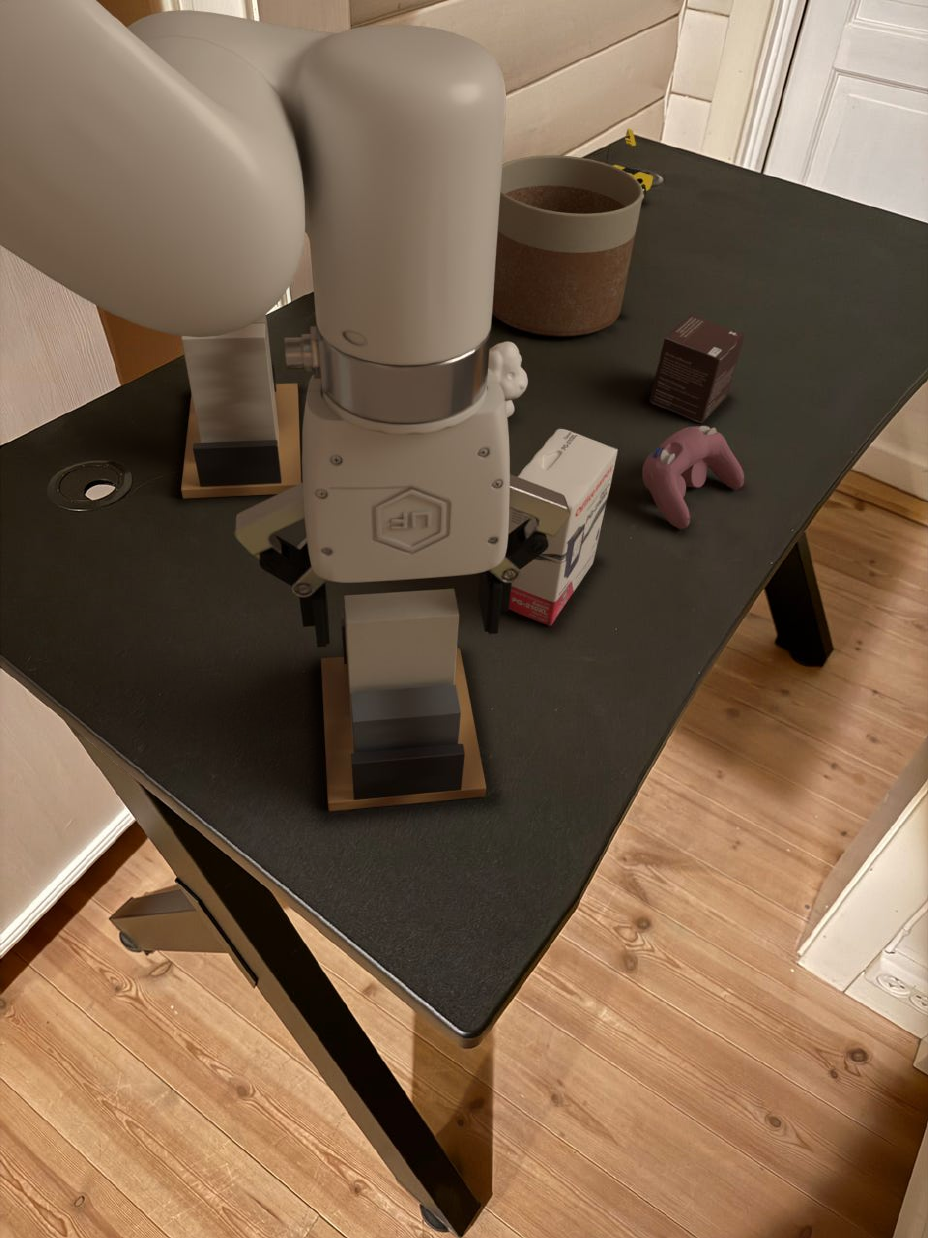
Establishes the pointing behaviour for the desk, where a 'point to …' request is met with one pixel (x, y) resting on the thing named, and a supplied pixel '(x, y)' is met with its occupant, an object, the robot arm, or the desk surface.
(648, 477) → the video game controller
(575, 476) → the ink box
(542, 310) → the planter
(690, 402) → the box
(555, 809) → the desk surface
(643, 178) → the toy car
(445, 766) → the grey shelf
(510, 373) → the figurine
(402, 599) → the white book
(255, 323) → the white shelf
